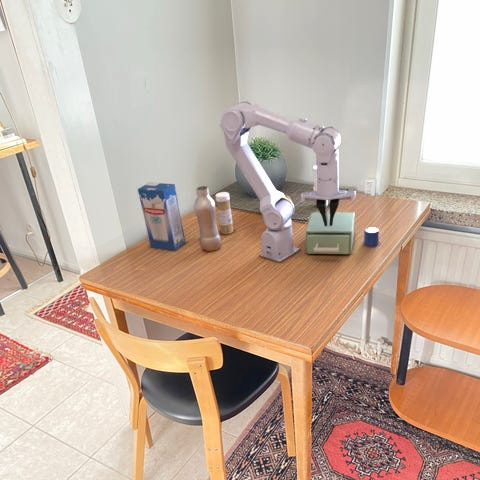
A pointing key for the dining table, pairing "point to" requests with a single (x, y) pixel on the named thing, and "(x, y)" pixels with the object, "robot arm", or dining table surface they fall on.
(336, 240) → the drawer
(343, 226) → the cabinet
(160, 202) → the milk carton
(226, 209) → the sprinkles bottle
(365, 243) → the can
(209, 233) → the plastic bottle
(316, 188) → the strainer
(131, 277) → the dining table surface
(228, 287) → the dining table surface
